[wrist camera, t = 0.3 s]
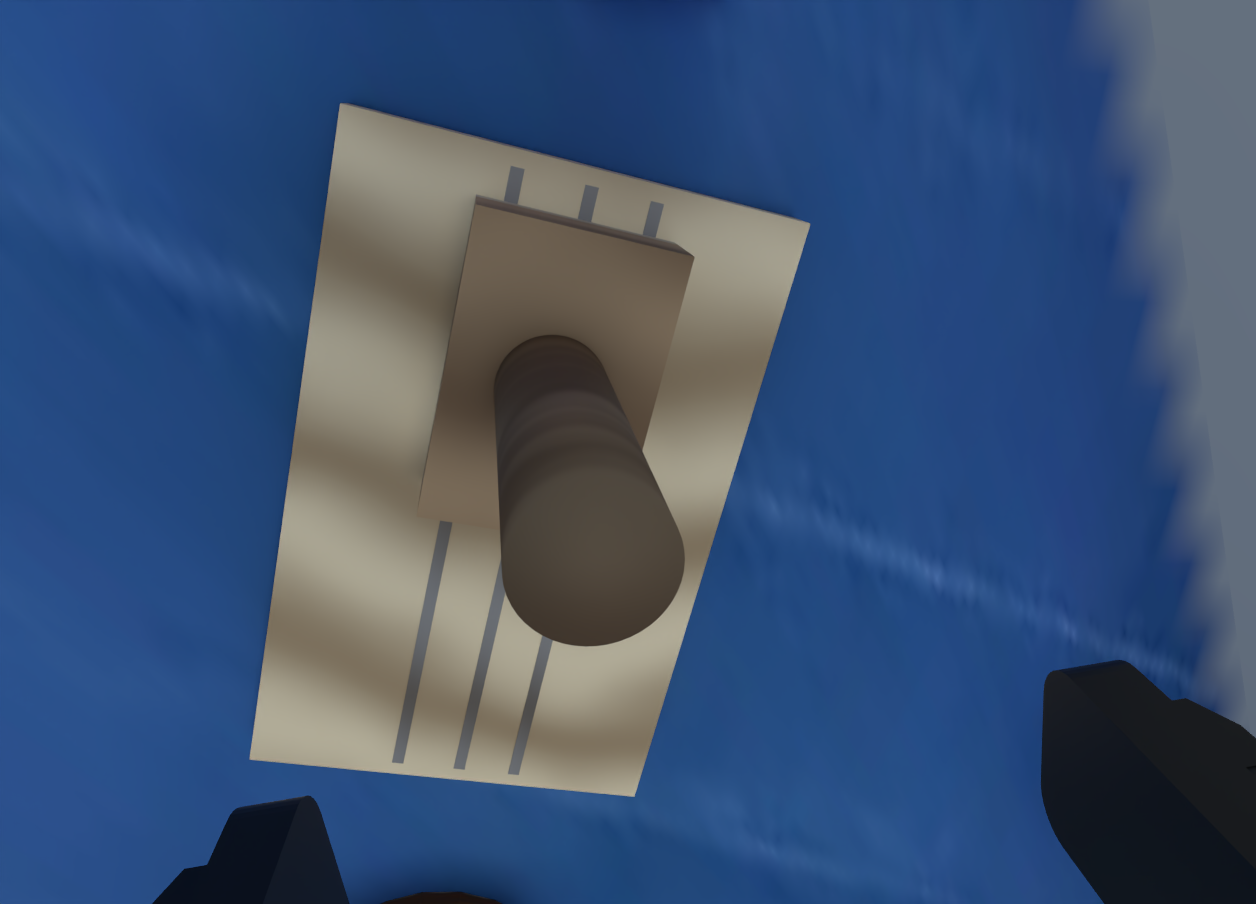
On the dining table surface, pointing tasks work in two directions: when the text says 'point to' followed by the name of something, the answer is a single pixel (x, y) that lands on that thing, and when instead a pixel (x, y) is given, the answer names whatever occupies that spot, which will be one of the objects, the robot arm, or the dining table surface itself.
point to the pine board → (469, 555)
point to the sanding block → (561, 417)
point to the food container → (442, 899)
